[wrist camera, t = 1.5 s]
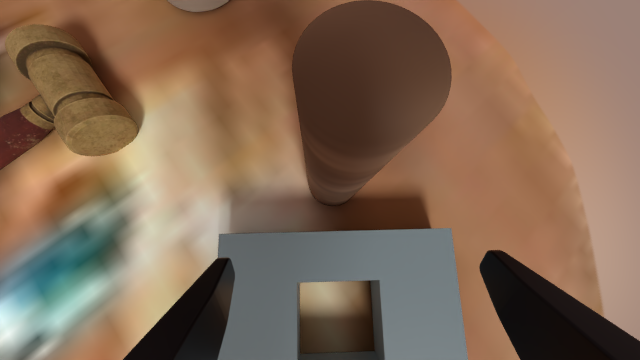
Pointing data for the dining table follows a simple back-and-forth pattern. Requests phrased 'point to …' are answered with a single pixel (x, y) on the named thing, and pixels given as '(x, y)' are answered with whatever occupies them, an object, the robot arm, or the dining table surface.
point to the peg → (364, 91)
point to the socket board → (345, 265)
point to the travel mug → (197, 4)
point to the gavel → (61, 98)
